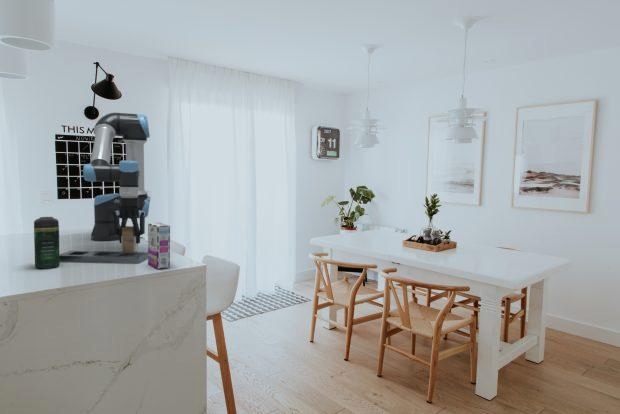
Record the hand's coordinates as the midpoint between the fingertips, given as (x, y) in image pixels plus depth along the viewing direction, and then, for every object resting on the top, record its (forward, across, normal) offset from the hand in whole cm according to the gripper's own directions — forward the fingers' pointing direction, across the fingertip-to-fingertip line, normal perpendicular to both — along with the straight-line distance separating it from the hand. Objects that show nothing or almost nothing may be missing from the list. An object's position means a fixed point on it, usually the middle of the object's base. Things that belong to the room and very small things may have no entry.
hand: (129, 250), depth 176 cm
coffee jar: (+2, -21, -23) cm, 31 cm away
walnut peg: (+2, 0, 0) cm, 2 cm away
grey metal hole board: (+2, -6, -11) cm, 13 cm away
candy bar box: (+2, +19, -19) cm, 27 cm away
